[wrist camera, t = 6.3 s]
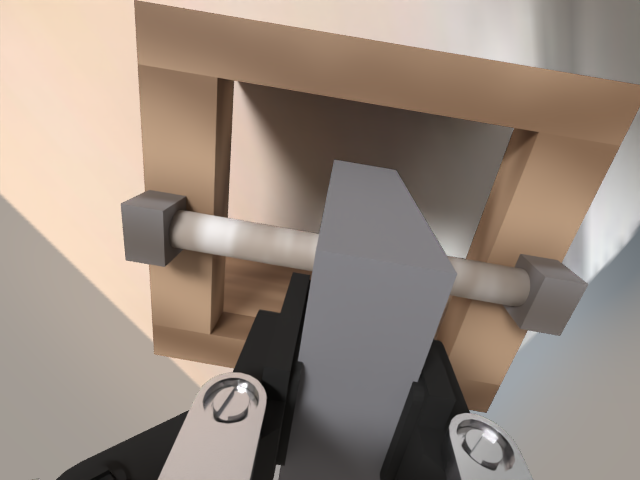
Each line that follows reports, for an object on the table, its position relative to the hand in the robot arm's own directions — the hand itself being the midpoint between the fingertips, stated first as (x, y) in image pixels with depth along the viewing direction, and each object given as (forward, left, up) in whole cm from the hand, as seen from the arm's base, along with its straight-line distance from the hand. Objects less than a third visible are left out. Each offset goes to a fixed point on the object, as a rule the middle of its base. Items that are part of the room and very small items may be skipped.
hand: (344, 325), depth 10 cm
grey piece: (0, 0, -5) cm, 5 cm away
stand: (0, 0, -17) cm, 17 cm away
